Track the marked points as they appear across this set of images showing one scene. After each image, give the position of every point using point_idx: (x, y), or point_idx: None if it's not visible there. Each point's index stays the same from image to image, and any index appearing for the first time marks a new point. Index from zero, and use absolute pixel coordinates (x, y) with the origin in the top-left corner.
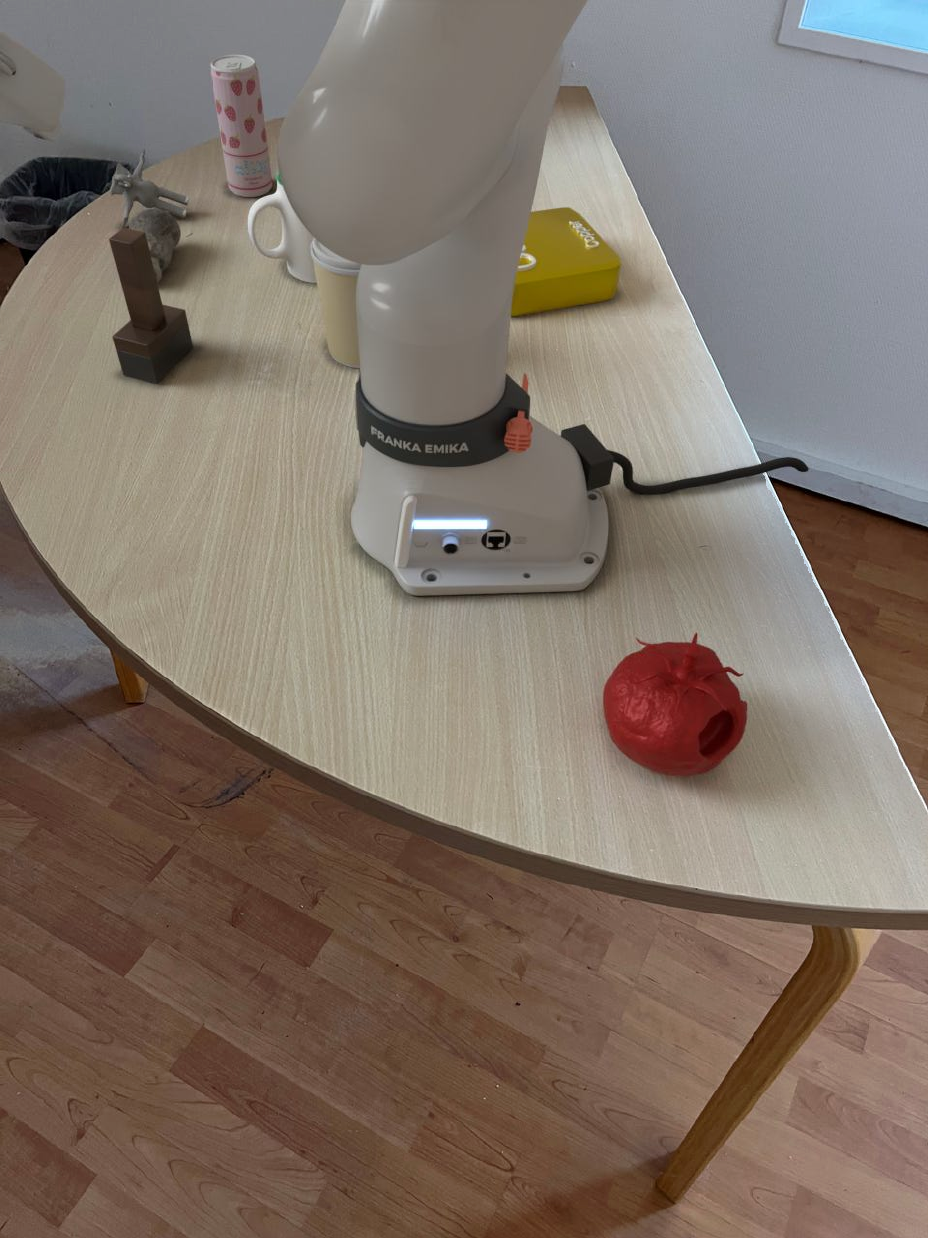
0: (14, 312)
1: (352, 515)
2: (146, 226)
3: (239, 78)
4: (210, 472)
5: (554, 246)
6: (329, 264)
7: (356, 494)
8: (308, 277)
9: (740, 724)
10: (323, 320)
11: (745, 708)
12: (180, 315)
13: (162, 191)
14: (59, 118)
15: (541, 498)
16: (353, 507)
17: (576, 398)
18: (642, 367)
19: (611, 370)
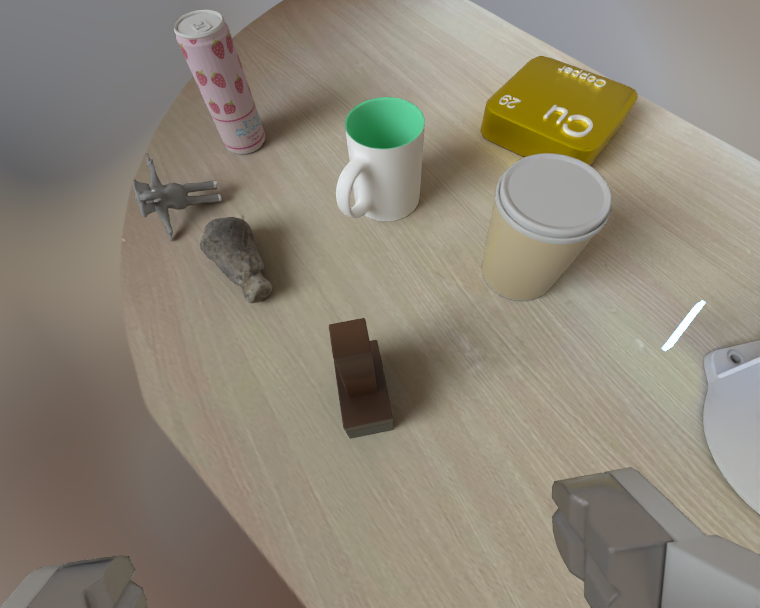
0: (156, 414)
1: (758, 505)
2: (227, 245)
3: (218, 39)
4: None
5: (577, 97)
6: (560, 237)
7: (755, 484)
8: (395, 217)
9: None
10: (503, 275)
11: None
12: (378, 350)
13: (189, 187)
14: (631, 468)
15: None
16: (753, 496)
17: (716, 234)
18: (715, 177)
19: (702, 192)
